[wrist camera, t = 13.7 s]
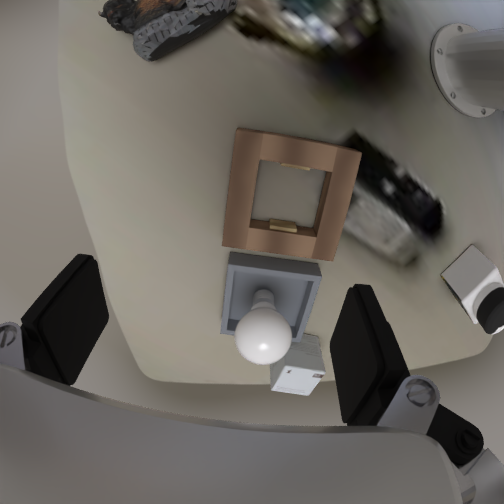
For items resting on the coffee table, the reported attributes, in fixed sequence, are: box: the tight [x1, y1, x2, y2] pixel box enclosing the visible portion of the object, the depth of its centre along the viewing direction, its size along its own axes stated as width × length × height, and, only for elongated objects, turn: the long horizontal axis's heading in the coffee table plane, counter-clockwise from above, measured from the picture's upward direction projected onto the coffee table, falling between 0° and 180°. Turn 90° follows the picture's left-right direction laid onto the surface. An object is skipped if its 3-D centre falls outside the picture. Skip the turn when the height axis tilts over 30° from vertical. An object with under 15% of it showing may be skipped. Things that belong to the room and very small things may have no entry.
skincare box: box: [270, 334, 326, 395], centre depth 42 cm, size 6×6×7 cm
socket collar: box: [222, 128, 362, 261], centre depth 32 cm, size 13×13×2 cm
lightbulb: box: [234, 289, 292, 365], centre depth 35 cm, size 6×6×11 cm
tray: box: [220, 252, 322, 342], centre depth 39 cm, size 11×11×3 cm
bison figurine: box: [98, 0, 237, 61], centre depth 21 cm, size 12×7×10 cm
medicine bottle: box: [441, 245, 504, 334], centre depth 33 cm, size 7×7×12 cm
